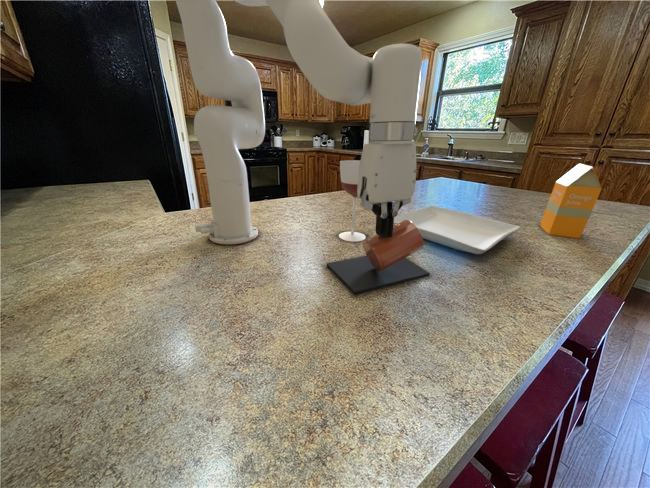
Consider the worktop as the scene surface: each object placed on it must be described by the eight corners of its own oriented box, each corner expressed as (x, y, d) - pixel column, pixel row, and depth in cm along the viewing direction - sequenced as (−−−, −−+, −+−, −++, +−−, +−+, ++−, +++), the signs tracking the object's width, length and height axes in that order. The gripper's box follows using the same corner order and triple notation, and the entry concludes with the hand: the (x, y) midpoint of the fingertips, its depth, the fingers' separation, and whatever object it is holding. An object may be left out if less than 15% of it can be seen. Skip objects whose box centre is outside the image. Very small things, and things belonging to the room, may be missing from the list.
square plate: (481, 264, 61) (486, 249, 59) (384, 230, 79) (385, 218, 78) (518, 237, 77) (522, 224, 76) (430, 214, 96) (432, 204, 94)
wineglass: (367, 243, 70) (374, 164, 62) (334, 240, 72) (337, 162, 64) (368, 232, 77) (375, 161, 70) (338, 230, 79) (342, 159, 71)
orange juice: (548, 234, 80) (574, 165, 72) (539, 225, 88) (562, 162, 80) (580, 238, 77) (612, 167, 69) (568, 229, 85) (595, 163, 77)
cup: (376, 252, 50) (421, 228, 51) (359, 236, 55) (400, 215, 57) (383, 277, 54) (425, 254, 55) (367, 260, 59) (405, 239, 60)
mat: (354, 294, 48) (355, 291, 48) (326, 265, 58) (326, 263, 58) (429, 275, 56) (430, 273, 55) (393, 252, 65) (393, 250, 65)
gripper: (410, 134, 52) (401, 224, 59) (342, 135, 46) (341, 235, 53) (441, 134, 45) (426, 235, 52) (365, 135, 40) (361, 249, 46)
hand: (383, 235), depth 52 cm, fingers closed
